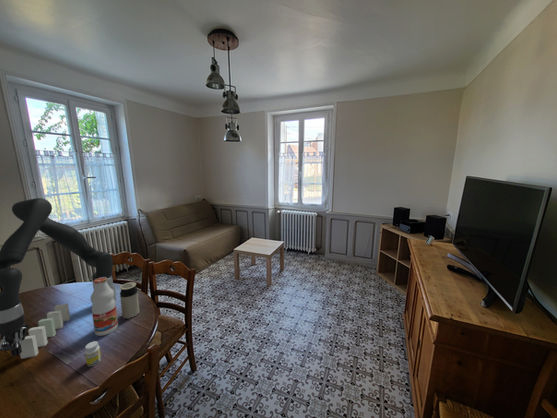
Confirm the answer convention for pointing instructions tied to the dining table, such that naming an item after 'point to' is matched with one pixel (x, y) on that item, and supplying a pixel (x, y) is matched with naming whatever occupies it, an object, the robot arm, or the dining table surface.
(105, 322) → the fruit juice
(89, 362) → the supplement bottle
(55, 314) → the domino
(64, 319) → the domino
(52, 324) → the domino
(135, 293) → the travel mug
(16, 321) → the robot arm
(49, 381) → the dining table surface
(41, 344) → the domino
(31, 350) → the domino
